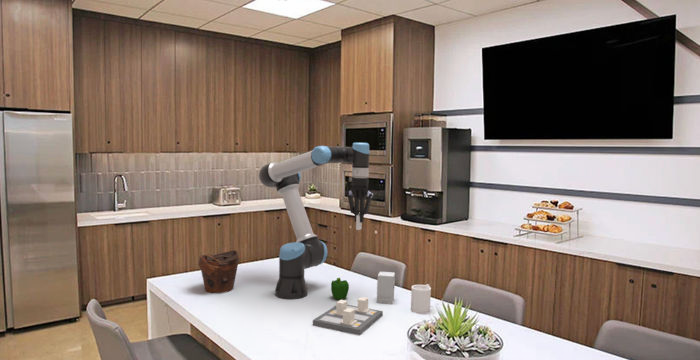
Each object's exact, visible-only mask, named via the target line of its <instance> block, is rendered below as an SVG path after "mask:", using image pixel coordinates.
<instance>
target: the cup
mask: <svg viewBox="0 0 700 360" xmlns="http://www.w3.org/2000/svg"><path fill="white" fill-rule="evenodd" d="M431 290H432V287H431V286H430V284H429V283H427V284H414V285H411V292H410V294H411V295H410V296H411V297H410V311H411V312H413V313H414V314H415V313H416V314H419V315H420V314H422V315H423V314H429V313H430V312H431V294H432V291H431Z"/></svg>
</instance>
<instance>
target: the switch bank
mask: <svg viewBox="0 0 700 360" xmlns="http://www.w3.org/2000/svg"><path fill="white" fill-rule="evenodd" d="M347 308H351V309H355V310H356V309H357V308H358V305H357V306H356V305H350V304H347ZM334 312H336V305H335V306H333V307H332V308H330V309H328V310H326V311H324V312H323V313H322V314H320V315H319V316H317V317H315V318H314V319H312V326H315V327H320V328H325V329H329V330H334V331H339V332H343V333H348V334H353V335H357V336H361V334H363V333H364V332H365V331H366V330H368V329H369V328H370V327H371V326H372V325H374V324H375V323H376V322H377V321H378V320H380V319H381V318H382V317H383V316H384V313H383V310H378V309H373V308H371V310H370V311H369V312H367V313H366V314H365V313H360V312H355V319H354V320H357V323H355V324H354V325H353V326H349V325H344V324H340V322H341V321H342V320H343V316H338V315H333V313H334Z"/></svg>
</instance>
